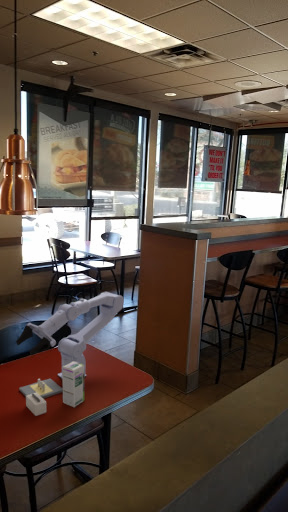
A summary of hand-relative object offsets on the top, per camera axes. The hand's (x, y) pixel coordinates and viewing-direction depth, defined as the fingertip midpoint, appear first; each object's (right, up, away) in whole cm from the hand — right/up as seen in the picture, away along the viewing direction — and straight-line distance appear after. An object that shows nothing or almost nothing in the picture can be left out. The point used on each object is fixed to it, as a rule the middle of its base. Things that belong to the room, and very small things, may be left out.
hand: (23, 348), depth 147 cm
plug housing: (+6, -20, -5) cm, 22 cm away
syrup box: (+18, -20, +1) cm, 27 cm away
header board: (+5, -18, +7) cm, 20 cm away
